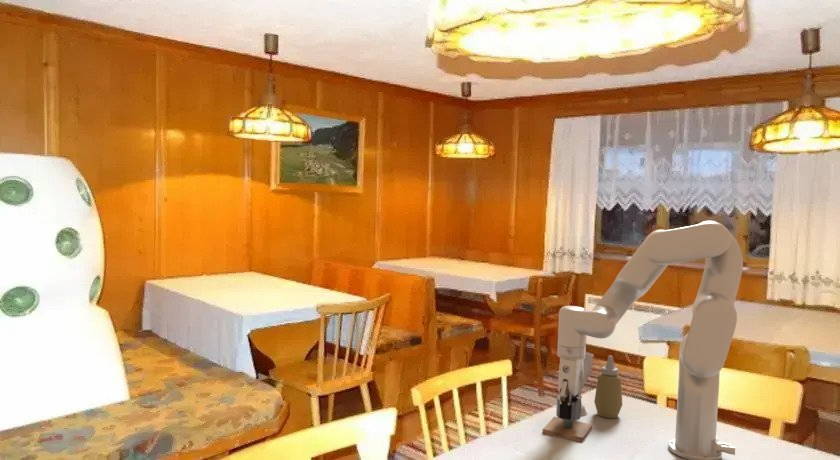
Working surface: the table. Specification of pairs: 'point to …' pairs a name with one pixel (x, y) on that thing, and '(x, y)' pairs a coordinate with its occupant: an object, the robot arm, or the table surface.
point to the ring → (575, 408)
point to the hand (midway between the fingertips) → (568, 414)
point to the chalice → (586, 376)
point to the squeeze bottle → (608, 391)
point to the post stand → (567, 429)
